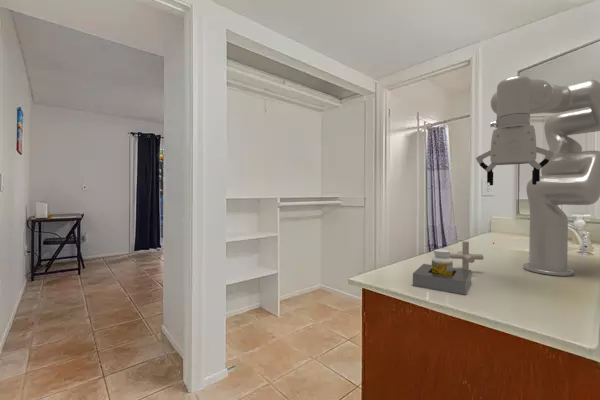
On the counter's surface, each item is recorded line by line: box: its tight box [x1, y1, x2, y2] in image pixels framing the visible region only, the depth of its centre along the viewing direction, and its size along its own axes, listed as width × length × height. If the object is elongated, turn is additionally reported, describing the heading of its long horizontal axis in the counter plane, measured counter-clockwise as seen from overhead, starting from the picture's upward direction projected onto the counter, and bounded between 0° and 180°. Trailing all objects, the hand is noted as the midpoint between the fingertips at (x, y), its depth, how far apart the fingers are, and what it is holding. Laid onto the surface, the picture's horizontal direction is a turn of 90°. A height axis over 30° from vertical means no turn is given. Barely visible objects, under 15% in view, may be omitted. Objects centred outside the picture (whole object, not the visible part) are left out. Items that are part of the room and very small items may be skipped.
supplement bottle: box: [431, 248, 454, 276], centre depth 82 cm, size 5×5×10 cm
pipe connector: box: [449, 240, 484, 270], centre depth 94 cm, size 10×10×10 cm
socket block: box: [412, 263, 472, 296], centre depth 81 cm, size 13×13×4 cm
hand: (512, 184), depth 79 cm, fingers open, 9 cm apart
